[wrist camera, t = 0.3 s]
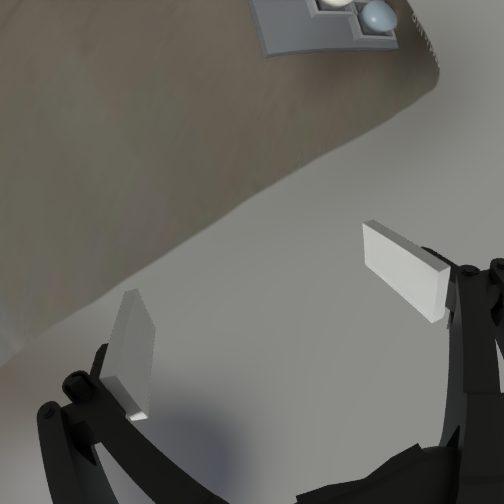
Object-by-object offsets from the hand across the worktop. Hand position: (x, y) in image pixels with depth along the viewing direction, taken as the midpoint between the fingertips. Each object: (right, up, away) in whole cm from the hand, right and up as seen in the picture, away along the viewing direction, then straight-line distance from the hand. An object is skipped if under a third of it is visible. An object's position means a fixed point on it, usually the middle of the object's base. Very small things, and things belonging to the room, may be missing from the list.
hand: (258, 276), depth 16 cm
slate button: (+17, +35, +14) cm, 42 cm away
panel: (+10, +39, +16) cm, 43 cm away
